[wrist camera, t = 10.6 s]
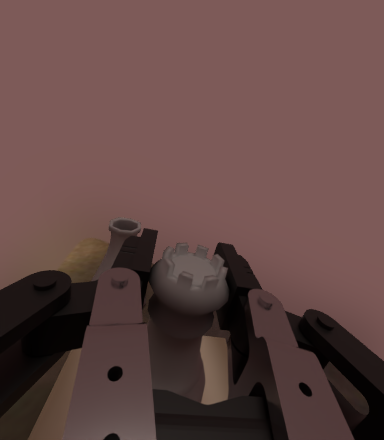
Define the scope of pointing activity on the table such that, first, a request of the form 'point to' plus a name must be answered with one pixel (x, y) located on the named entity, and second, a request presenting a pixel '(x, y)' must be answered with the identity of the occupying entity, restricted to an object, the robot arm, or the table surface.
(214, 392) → the maple plinth
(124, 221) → the flask
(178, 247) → the rook chess piece
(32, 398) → the table surface
